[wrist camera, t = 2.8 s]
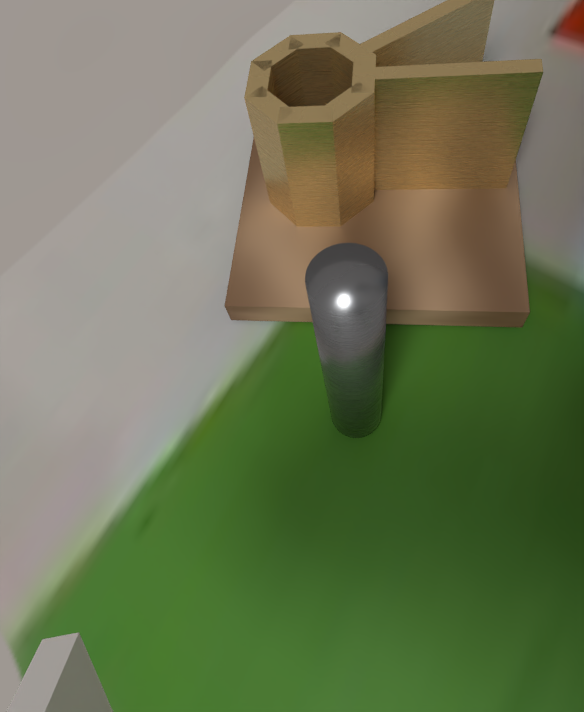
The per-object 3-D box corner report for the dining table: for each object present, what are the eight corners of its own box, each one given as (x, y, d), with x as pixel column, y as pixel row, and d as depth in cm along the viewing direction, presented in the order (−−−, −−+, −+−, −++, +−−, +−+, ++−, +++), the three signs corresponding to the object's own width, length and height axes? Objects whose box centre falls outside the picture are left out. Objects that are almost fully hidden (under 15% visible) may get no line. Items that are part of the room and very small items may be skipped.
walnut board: (502, 99, 34) (507, 78, 33) (522, 327, 27) (529, 312, 26) (266, 108, 36) (262, 89, 35) (231, 319, 30) (224, 305, 28)
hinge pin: (382, 392, 27) (389, 242, 16) (380, 439, 26) (386, 313, 15) (333, 389, 27) (308, 242, 17) (329, 436, 26) (301, 311, 16)
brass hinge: (499, 102, 32) (530, -22, 26) (509, 226, 28) (548, 114, 22) (283, 110, 34) (263, -4, 28) (266, 226, 30) (239, 125, 24)
